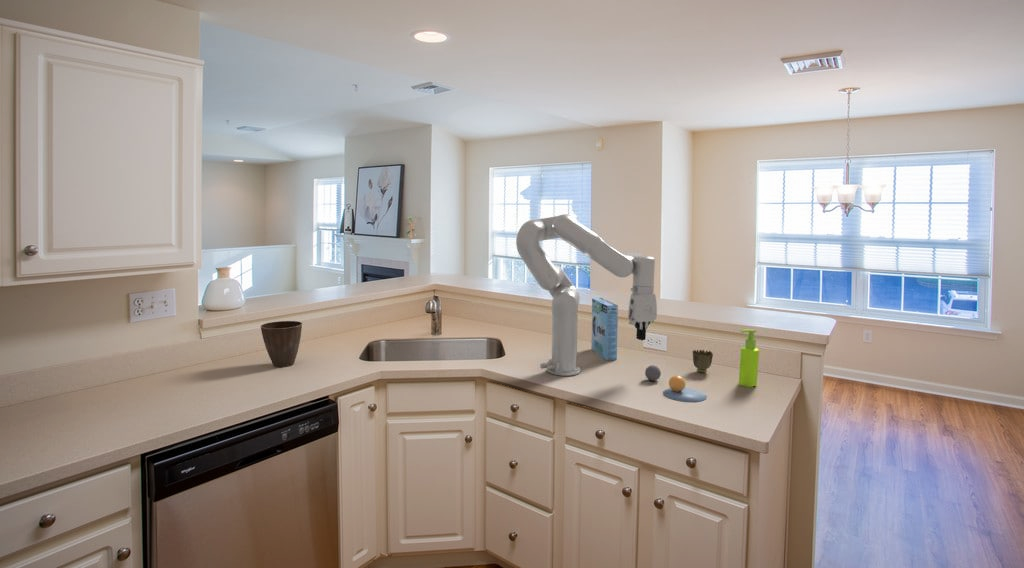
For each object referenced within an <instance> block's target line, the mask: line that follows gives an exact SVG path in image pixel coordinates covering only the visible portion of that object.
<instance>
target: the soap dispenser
mask: <svg viewBox="0 0 1024 568" xmlns="http://www.w3.org/2000/svg"><path fill="white" fill-rule="evenodd" d="M738 331H739V332H741V334H742V333H743V334H744V333H748V335H747V336H748V337H746V338H745V343H744V346H741V347H740V358H739V359H740V360H739V361H740V362H739V377H738V384H739V385H740V386H742V387H745V386H747V388H754V387H753V386H756V385H758V372H759V371H758V370H759V360H760V359H759V357H760V349H759V348H757V347H756V346H757V344H756V343H757V339H756V338H755V335H754V334H755V333H757V330H756V329H753V328H752V329H751V328H750V329H749V328H745V329H740V330H738ZM756 387H757V386H756Z"/></svg>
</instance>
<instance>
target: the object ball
mask: <svg viewBox="0 0 1024 568" xmlns="http://www.w3.org/2000/svg"><path fill="white" fill-rule="evenodd" d="M668 387H669V388H671V389H672V390H673V391H675V392H680V391H682V390H683V389H684V388H686V380H685V379H684V377H682V376H681V375H673V376H672V377H670V378H669V380H668Z"/></svg>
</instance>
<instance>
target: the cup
mask: <svg viewBox="0 0 1024 568" xmlns="http://www.w3.org/2000/svg"><path fill="white" fill-rule="evenodd" d="M713 355H714V353H713V352H712V351H711V350H709V351H708V350H704V349H700V350H698V349H696V350H695V349H693V350H692V363H693V365H694V367H695V368H696V372H698V373H699V374H706V373H707V371H708V369H709V368H710V367H711V365H712V361H713V357H714V356H713Z"/></svg>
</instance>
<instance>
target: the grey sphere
mask: <svg viewBox="0 0 1024 568" xmlns="http://www.w3.org/2000/svg"><path fill="white" fill-rule="evenodd" d="M644 373H645V374H644V375H645V378H646V379H648V380H649V381H650V382H651V381H652V382H654V381H657V380H658V379H660V377H661V375H662V374H661V373H662V372H661V369H660V368H659V367H658V366H657V365H653V364H652V365H649V366H647V367H646V369H645V371H644Z"/></svg>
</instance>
